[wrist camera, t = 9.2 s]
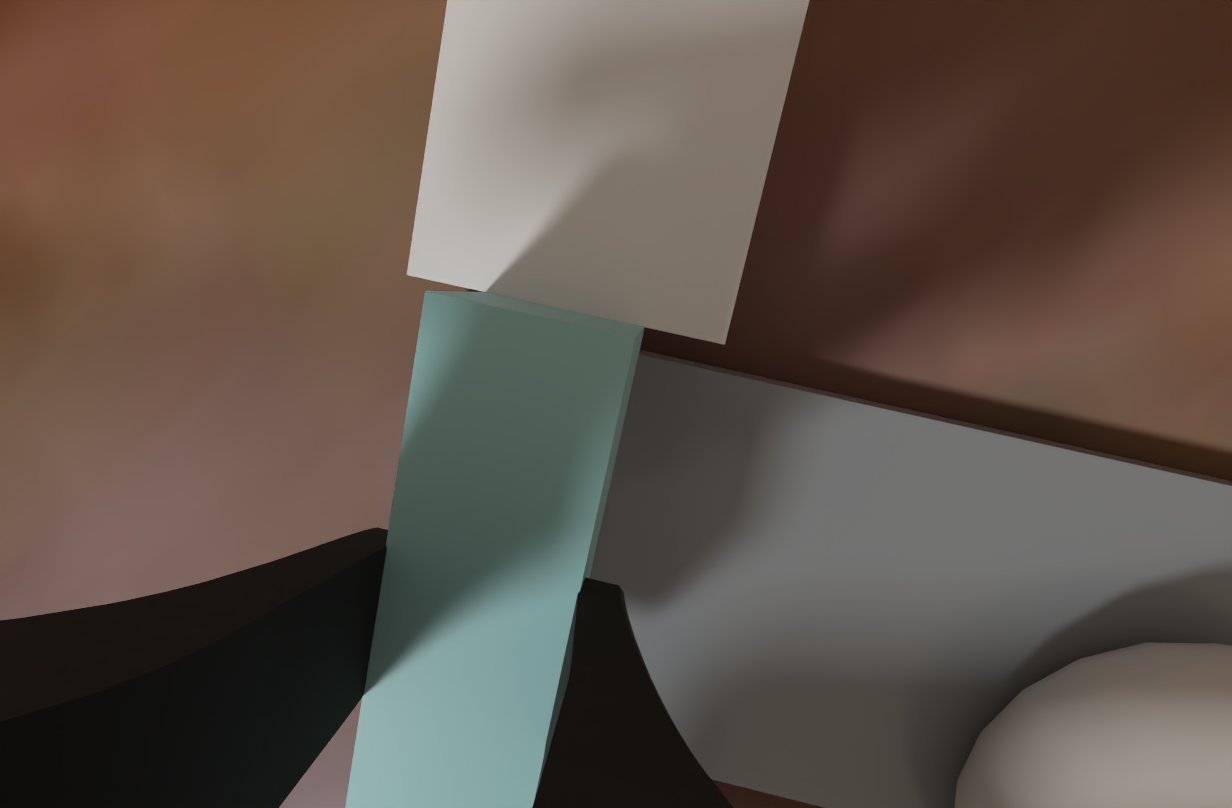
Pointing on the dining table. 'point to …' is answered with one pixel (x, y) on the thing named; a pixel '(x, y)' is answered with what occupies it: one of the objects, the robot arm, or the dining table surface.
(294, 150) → the dining table surface
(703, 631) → the slate board
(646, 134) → the turner
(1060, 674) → the donut
